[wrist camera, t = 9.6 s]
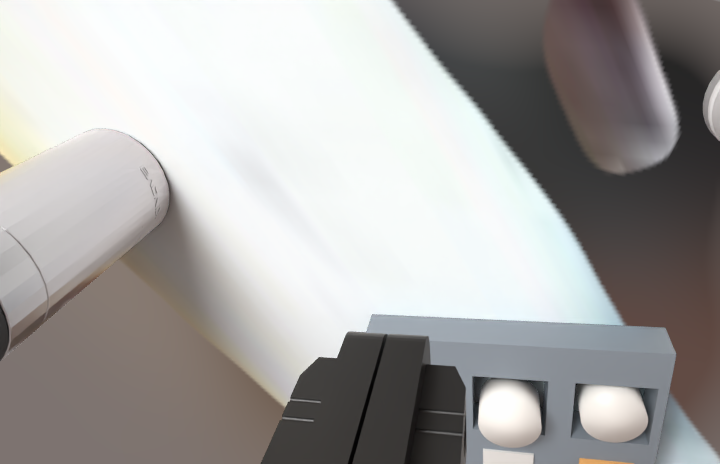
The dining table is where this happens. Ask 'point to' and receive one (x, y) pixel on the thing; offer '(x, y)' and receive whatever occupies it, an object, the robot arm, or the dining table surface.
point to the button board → (551, 379)
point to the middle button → (509, 412)
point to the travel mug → (713, 106)
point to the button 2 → (611, 412)
